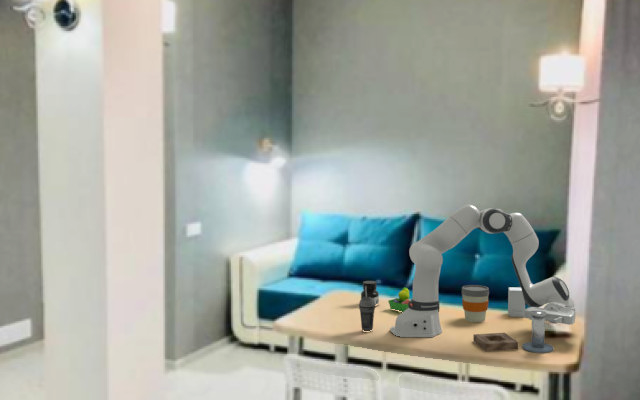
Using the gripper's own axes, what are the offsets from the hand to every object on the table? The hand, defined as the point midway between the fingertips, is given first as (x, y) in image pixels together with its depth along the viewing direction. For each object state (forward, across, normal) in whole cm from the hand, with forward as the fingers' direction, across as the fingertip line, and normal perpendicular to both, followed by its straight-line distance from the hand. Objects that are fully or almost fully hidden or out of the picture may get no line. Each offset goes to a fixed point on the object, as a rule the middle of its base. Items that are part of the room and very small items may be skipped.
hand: (543, 319), depth 287 cm
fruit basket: (-16, -75, +10) cm, 78 cm away
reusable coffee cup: (-21, -39, +11) cm, 46 cm away
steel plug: (+5, 0, +10) cm, 11 cm away
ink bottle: (-16, -94, +10) cm, 96 cm away
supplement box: (-39, -27, +11) cm, 49 cm away
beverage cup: (+23, -70, +10) cm, 75 cm away
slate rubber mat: (+5, 0, +10) cm, 12 cm away
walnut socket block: (+11, -16, +10) cm, 22 cm away
